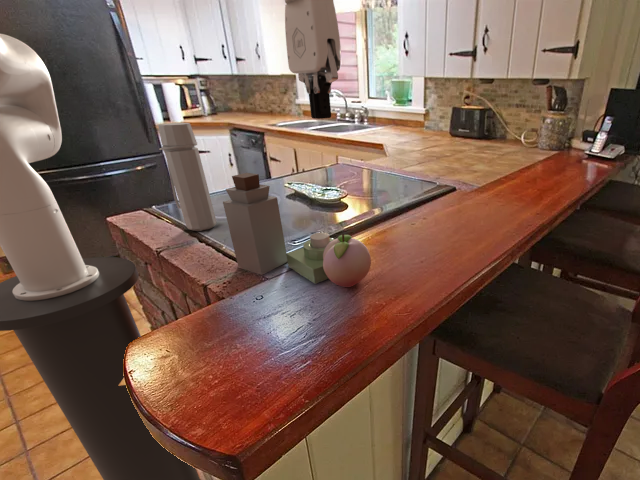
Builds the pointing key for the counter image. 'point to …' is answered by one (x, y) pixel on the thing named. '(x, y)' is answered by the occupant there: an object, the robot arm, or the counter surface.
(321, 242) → the beige button cap
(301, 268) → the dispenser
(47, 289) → the robot arm
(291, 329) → the counter surface
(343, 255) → the decorative fruit
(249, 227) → the perfume bottle
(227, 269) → the counter surface
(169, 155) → the water bottle
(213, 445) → the counter surface
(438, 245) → the counter surface
